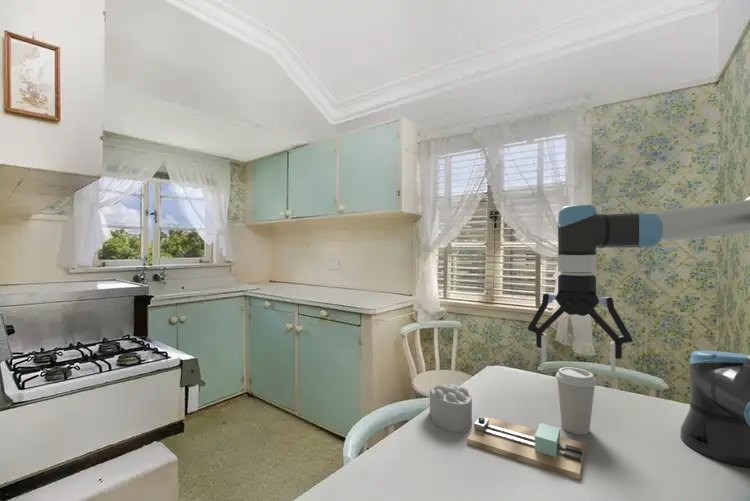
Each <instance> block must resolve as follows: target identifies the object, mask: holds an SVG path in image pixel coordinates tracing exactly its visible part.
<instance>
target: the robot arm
mask: <svg viewBox="0 0 750 501" xmlns="http://www.w3.org/2000/svg"><path fill="white" fill-rule="evenodd" d="M556 228H557V234H558V235H557V249H558V251H557V252H558V255H557V272H559V273H560V274H559V275H558V276H557V294H551V293H549V292H545V293H543V295H542V301H541V304H540V305H539V307H538V309H537V311H536V312H535V315H534V316H533V318H532V320H531V321H530V323H529V325H528V327H527V329H528V331H530V332H532V333H534V334H535V337H536V342H535V344H536V348H538V349H540V350H541V351H540V352H541V353H540V354H541V357H540V358H541V360H540V363H541V364H544V365H545V364H546V362H547V333H545V331H546V330H547V329H548V328H549V327H550V326H551V325H552V324H553V323H554V322H555V321H556V320H557V319H559V317H561V316H562V315H563V314H564V313H566V314H567V315H570V316H575V315H577V316H581V317H585V316H587V315H589V316H590V318H592V319H593V320H594V322H596V323H597V324H598V325H599V326H600V328H601V329H602V330H603V331H604V332H605V333H606V334H607V335H608V336H609V338H611V341H610V374H611V375H614V376H615V375H616V359H618V360H621V359H622V357H623V354H622V353H623V351H622V350H623V344H624V343H626V344H627V343H631V342H633V338H632V335H631V334H630V332H629V330H628V328H627V327H626V325H625V323H624V322H623V319H622V318H621V316H620V314H619V313H618V311H617V310H616V308H615V305H614V298H613V297H612V296H609V295H608V296H607V297H606V296H605V297H598V296H597V295H598V294H597V276H596V275H594V273H596V272H597V249H605V248H607V249H609V248H611V249H614V248H615V249H616V248H617V249H619V248H621V249H622V248H624V249H625V248H626V249H627V248H629V249H630V248H631V249H632V248H637V249H638V248H639V249H643V248H653V247H657V245H659V243H662V242H670V241H680V240H691V239H700V238H709V237H710V238H711V237H718V236H729V235H738V234H747V233H748V234H750V196H748V197H746V198H745V199H744V200H739V201H731V202H723V203H715V204H708V205H700V206H693V207H692V206H691V207H684V208H677V209H676V208H675V209H669V210H659V211H653V212H646V213H645V212H644V213H643V212H634V213H609V214H608V213H606V214H605V213H602V214H601V213H598V212H597V208H596V206H594V205H593V204H577V205H567V206H562V207H561V208H560V210H559V211H558V217H557V226H556ZM554 301H556V303H557V304H558V305H559V306H560V307H558V309H557V310H555V311H554V313H552V314H551V316H550V317H548V318H547V319H546V320H545V321H544V322H543V323H542V324H541V325H540V326H537V325H538V323H539V322H540V319H541V318H542V316H543V315H544V312H545V311H546V309H547V308H548V305H549V304H552V303H553V302H554ZM598 304H602V306H603V307H604V308H607V310H608V313H609V314H610V317H611V318H612V319H613V321H614V323H615V325H616V326H617V328H618V329H619V331H620V333H621V335H620V336H619V334H618V333H617V332H616V331H615V330H614V329H613V328H612V327H611V326H610V325H609V323H607V321H606V320H605V319H604V318H603V317H602V315H600V314H599V312H598V311H597V310H596V309H595V308H596V307H597V305H598ZM688 365H689V410H688V412H687V415H686V416H685V418H684V420H683V422H682V425H681V426H680V440H681V441H682V442H683V444H685V445H686V446H688V447H689V448H691V449H692V450H694V451H696V452H698V453H700V454H702V455H704V456H707V457H709V458H711V459H714V460H717V461H719V462H723V463H726V464H729V465H734V466H740V467H745V468H750V355H749V354H744V353H738V352H737V353H735V352H729V351H721V350H720V351H717V350H704V349H703V350H694V351H692V352H691V354H690V359H689V364H688Z"/></svg>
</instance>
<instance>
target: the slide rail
mask: <svg viewBox="0 0 750 501" xmlns="http://www.w3.org/2000/svg"><path fill="white" fill-rule="evenodd" d="M473 426H474V429H473V430H475V431H478V432H482V433H487V434H490V435H494V436H497V437H501V438H504V439H507V440H511V441H514V442H517V443H521V444H524V445H527V446H531V447H534V448H535V443H533V442H535V437H531V436H528V435H524V434H521V433H517V432H514V431H510V430H507V429H503V428H499V427H496V426H492V425H489V419H487V418H483V416H479V417H478V418H477V419H476V421H475V422H474V424H473ZM487 428H488V429H487ZM489 429H491V430H489ZM492 430H495V431H498V432H495V431H492ZM499 432H502V433H505V434H502V433H499ZM506 434H509V435H512V436H509V435H506ZM513 436H516V437H519V438H516V437H513ZM520 438H523V439H526V440H530V441H533V442H530V441H526V440H523V439H520ZM557 449H561V450H564V451H561V450H557V454H558V455H561V456H564V457H565V458H569V459H572V460H576V461H579V462H581V455H582V449H581V448H577V447H574V446H570V445H567V444H566V446H563V445H560V444H557Z"/></svg>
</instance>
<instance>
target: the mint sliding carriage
mask: <svg viewBox="0 0 750 501" xmlns="http://www.w3.org/2000/svg"><path fill="white" fill-rule="evenodd" d="M537 427H538V428H537V429H536V430H537V432H536V434H535V451H537V452H540V453H543V454H547V455H550V456H553V457H556V456H557V444H560V436H561V427H557V426H553V425H549V424H546V423H541V422H539V424H538V426H537Z"/></svg>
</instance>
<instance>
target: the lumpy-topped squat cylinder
mask: <svg viewBox="0 0 750 501" xmlns="http://www.w3.org/2000/svg"><path fill="white" fill-rule="evenodd" d="M472 401H473V398H472V394H471V393H469V390H468V388H466V387H465V386H459V385H455V384H454V383H445V384H443V383H442V384H437V385H434V386H432V387H430V389H429V416H430V417H431V419H432V421H433V422H435V423H436V425H438V426H439V427H442V428H443V429H446V430H449V431H454V432H457V431H463V432H466V430H467V431H468V429H469V430H470V429H471V428H472V425H473V424H472V422H473V419H472V418H473V415H472V414H473V413H472V412H473V402H472Z"/></svg>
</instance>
